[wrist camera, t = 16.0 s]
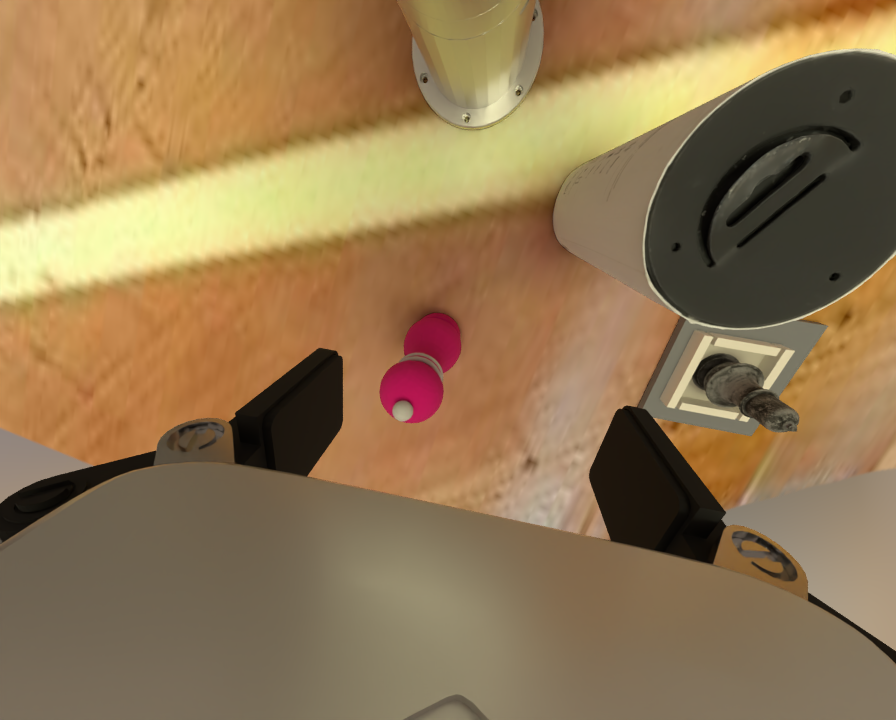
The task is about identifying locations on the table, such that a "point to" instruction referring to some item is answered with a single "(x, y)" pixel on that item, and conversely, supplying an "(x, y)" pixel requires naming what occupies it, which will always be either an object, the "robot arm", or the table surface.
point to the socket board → (691, 343)
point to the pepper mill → (421, 369)
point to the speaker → (750, 196)
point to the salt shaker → (743, 391)
